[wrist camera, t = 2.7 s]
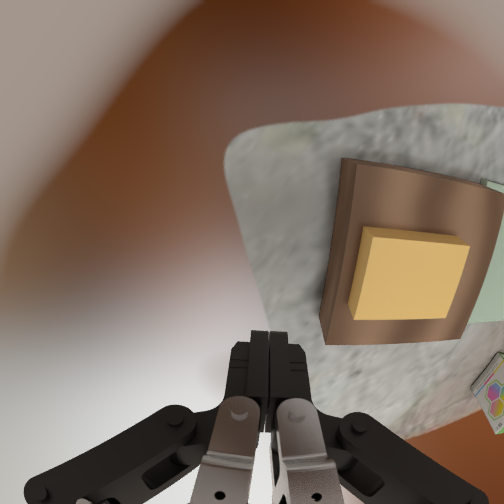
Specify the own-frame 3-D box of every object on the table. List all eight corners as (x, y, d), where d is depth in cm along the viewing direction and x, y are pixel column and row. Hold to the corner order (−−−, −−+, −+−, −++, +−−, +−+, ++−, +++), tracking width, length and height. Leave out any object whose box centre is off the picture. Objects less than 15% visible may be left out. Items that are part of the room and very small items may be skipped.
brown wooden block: (480, 183, 20) (507, 195, 17) (443, 315, 26) (460, 338, 22) (341, 157, 21) (356, 164, 17) (318, 316, 26) (325, 344, 23)
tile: (456, 235, 18) (470, 246, 16) (435, 304, 21) (445, 318, 19) (363, 226, 19) (372, 237, 17) (347, 303, 21) (353, 319, 19)
